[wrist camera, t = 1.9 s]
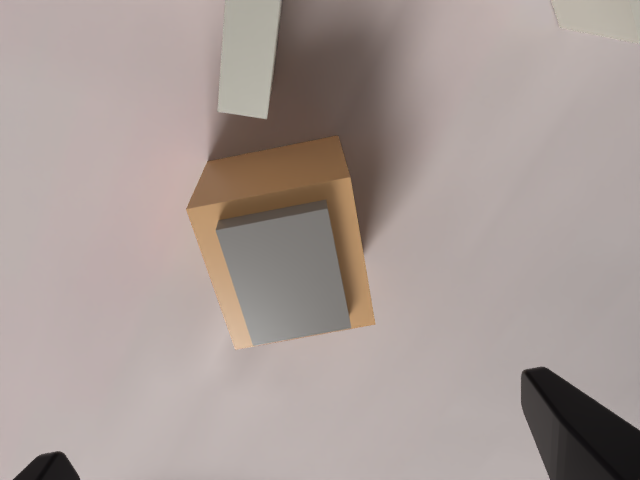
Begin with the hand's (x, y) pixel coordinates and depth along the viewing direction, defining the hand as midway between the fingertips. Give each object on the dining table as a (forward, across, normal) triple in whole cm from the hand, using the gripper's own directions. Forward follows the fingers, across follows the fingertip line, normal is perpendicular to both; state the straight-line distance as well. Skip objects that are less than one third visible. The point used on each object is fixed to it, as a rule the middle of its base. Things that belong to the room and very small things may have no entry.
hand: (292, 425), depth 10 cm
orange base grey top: (+10, 0, 0) cm, 10 cm away
